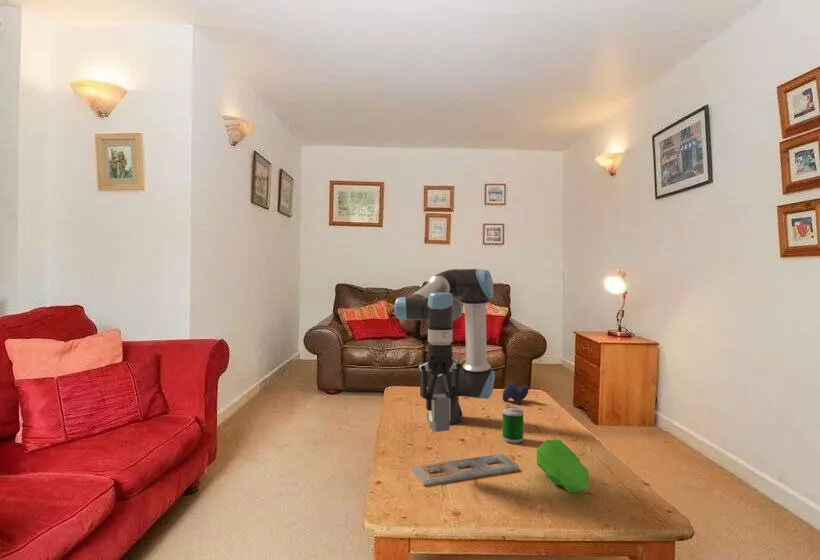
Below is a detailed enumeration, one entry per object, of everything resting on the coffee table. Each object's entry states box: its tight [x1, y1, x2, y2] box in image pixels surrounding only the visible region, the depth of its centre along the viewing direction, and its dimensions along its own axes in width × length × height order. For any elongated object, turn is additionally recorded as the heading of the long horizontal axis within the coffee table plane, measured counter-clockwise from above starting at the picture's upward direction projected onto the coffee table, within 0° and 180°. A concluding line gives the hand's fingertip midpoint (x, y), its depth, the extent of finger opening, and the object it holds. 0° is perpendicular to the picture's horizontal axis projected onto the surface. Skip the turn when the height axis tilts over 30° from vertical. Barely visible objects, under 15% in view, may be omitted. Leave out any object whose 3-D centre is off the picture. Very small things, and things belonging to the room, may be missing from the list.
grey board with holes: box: [411, 453, 520, 486], centre depth 138 cm, size 10×32×2 cm, turn 110°
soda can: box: [502, 406, 524, 445], centre depth 164 cm, size 8×8×12 cm
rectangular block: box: [429, 394, 450, 433], centre depth 134 cm, size 4×4×10 cm
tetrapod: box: [502, 380, 530, 406], centre depth 217 cm, size 11×12×11 cm
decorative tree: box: [536, 439, 590, 493], centre depth 128 cm, size 11×12×30 cm
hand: (439, 419), depth 134 cm, fingers closed on rectangular block, 4 cm apart
